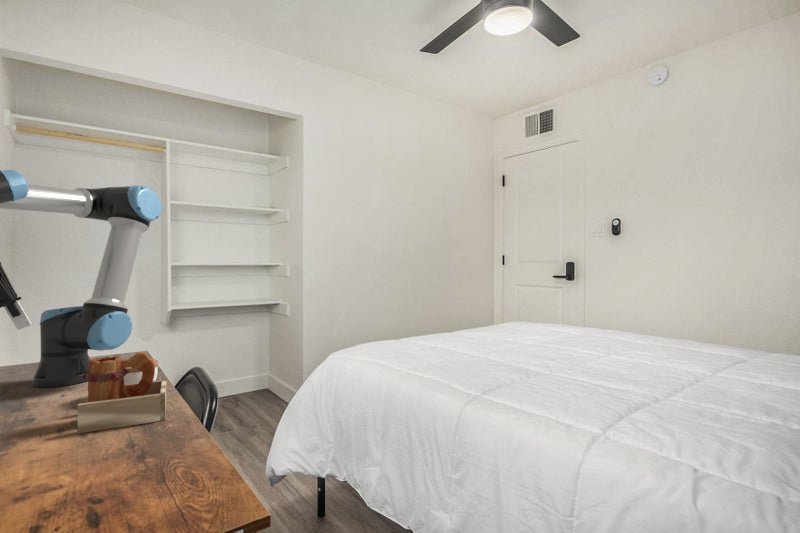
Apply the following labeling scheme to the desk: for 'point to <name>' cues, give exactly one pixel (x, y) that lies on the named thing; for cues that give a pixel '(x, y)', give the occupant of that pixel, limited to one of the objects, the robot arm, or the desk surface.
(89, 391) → the mug
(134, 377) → the lidded bowl
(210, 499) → the desk surface
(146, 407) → the wooden u-shaped frame
